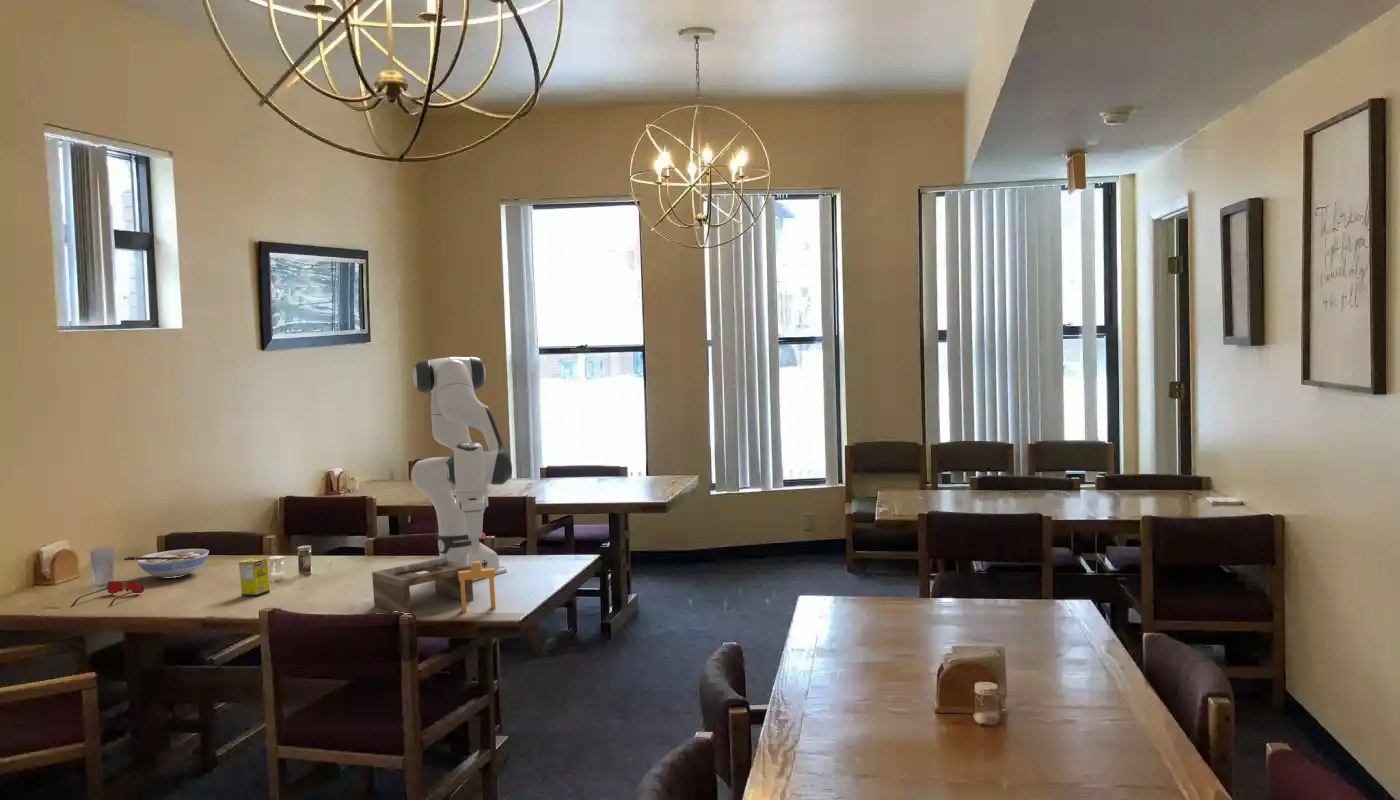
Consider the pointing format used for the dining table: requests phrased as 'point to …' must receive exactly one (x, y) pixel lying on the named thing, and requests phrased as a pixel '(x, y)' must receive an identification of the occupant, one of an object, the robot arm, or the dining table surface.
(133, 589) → the glasses
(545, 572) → the dining table surface
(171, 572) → the ramen bowl
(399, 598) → the shelf
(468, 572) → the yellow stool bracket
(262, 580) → the supplement box
